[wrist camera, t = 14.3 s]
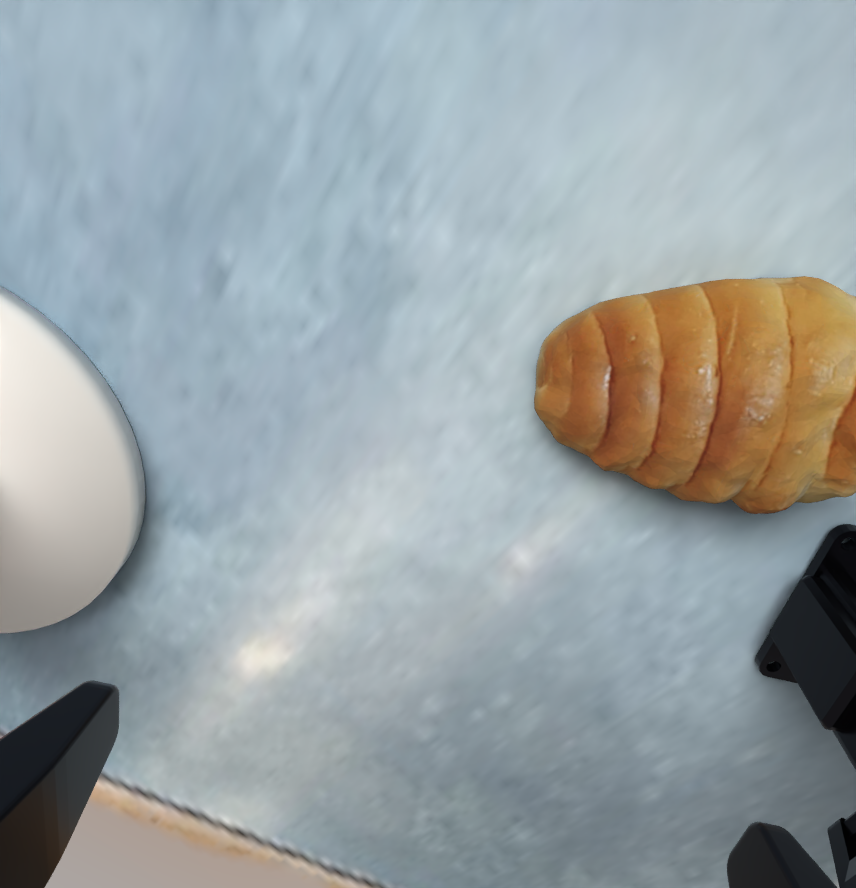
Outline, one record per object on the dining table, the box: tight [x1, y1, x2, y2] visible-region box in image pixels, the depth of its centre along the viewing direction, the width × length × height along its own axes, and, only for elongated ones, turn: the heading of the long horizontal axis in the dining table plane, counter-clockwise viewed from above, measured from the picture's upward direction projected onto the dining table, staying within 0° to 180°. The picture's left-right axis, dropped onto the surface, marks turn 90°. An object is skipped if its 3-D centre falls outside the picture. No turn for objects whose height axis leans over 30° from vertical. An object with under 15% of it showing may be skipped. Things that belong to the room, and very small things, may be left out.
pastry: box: [534, 276, 856, 514], centre depth 18 cm, size 9×7×4 cm
